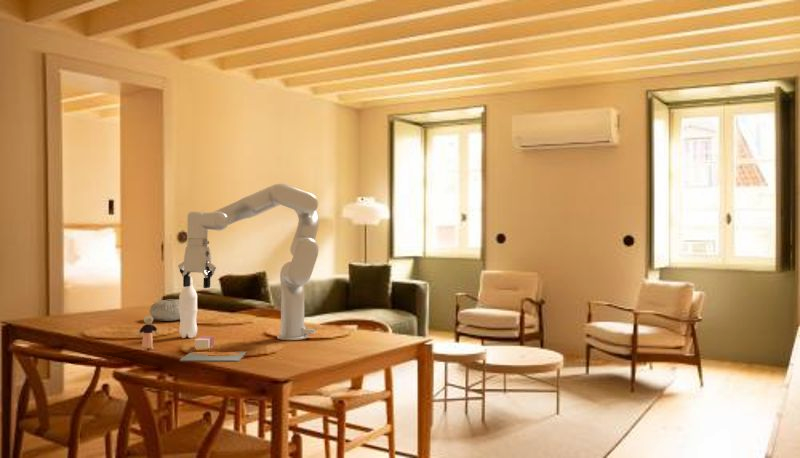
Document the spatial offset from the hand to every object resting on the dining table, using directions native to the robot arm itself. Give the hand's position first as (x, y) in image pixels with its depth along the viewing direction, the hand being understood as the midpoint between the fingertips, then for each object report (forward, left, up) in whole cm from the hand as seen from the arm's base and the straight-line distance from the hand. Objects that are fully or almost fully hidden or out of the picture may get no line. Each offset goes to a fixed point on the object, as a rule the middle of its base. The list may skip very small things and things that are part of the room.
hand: (196, 287), depth 251 cm
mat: (-13, +23, -22) cm, 35 cm away
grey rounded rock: (+31, -60, -23) cm, 71 cm away
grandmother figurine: (+15, +10, -23) cm, 29 cm away
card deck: (-5, +7, -22) cm, 24 cm away
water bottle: (+8, -15, -23) cm, 28 cm away
